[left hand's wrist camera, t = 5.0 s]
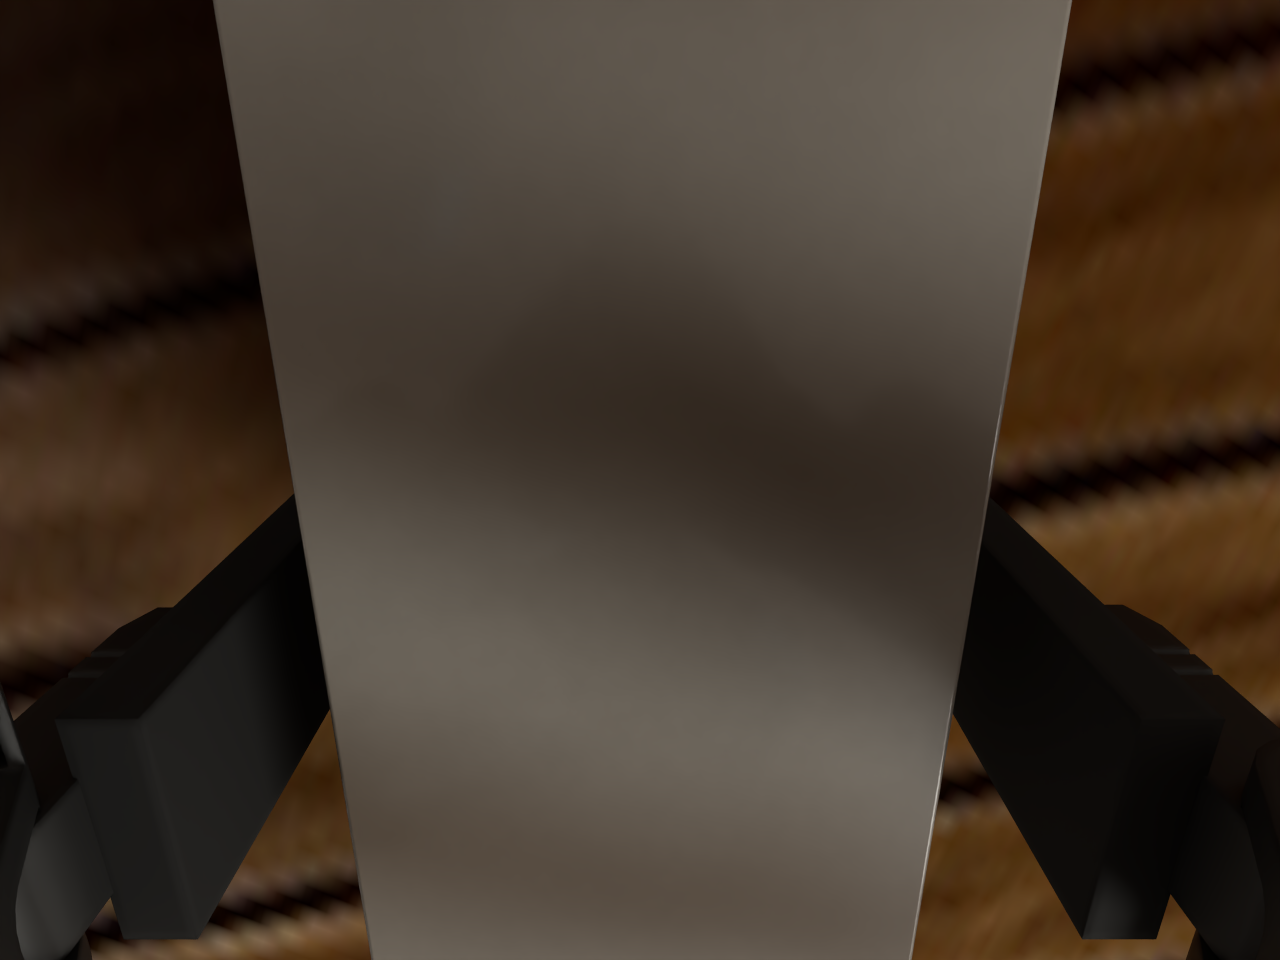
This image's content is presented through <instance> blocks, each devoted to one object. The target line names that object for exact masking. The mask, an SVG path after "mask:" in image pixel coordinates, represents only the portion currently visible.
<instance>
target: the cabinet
mask: <svg viewBox="0 0 1280 960" xmlns="http://www.w3.org/2000/svg"><path fill="white" fill-rule="evenodd" d="M1071 2H1072V0H213V4H214V10H215V16H216V22H217V28H218V34H219V40H220V46H221V52H222V58H223V65H224V71H225V77H226V83H227V89H228V95H229V101H230V107H231V113H232V119H233V125H234V131H235V137H236V143H237V149H238V155H239V161H240V167H241V173H242V179H243V185H244V191H245V198H246V204H247V210H248V216H249V222H250V228H251V234H252V240H253V246H254V252H255V258H256V264H257V270H258V276H259V282H260V288H261V294H262V300H263V306H264V312H265V318H266V324H267V331H268V337H269V343H270V349H271V355H272V361H273V367H274V373H275V379H276V385H277V391H278V397H279V403H280V409H281V415H282V421H283V427H284V433H285V439H286V445H287V451H288V457H289V463H290V470H291V476H292V482H293V488H294V494H295V500H296V506H297V512H298V518H299V524H300V530H301V536H302V542H303V548H304V554H305V560H306V566H307V572H308V578H309V584H310V590H311V596H312V603H313V609H314V615H315V621H316V627H317V633H318V639H319V645H320V651H321V657H322V663H323V669H324V675H325V681H326V687H327V693H328V699H329V705H330V711H331V717H332V723H333V729H334V736H335V742H336V748H337V754H338V760H339V766H340V772H341V778H342V784H343V790H344V796H345V802H346V808H347V814H348V820H349V826H350V832H351V838H352V844H353V850H354V856H355V862H356V869H357V875H358V881H359V887H360V893H361V899H362V905H363V911H364V917H365V923H366V929H367V935H368V941H369V947H370V953H371V959H372V960H911V959H912V953H913V947H914V941H915V935H916V929H917V923H918V917H919V911H920V905H921V899H922V893H923V887H924V881H925V875H926V869H927V863H928V857H929V851H930V846H931V840H932V834H933V828H934V822H935V816H936V810H937V804H938V798H939V792H940V786H941V780H942V774H943V768H944V762H945V756H946V750H947V744H948V738H949V732H950V726H951V720H952V714H953V708H954V702H955V696H956V690H957V684H958V678H959V672H960V666H961V660H962V654H963V648H964V642H965V636H966V630H967V624H968V618H969V612H970V606H971V600H972V594H973V588H974V582H975V576H976V570H977V564H978V558H979V553H980V547H981V541H982V535H983V529H984V523H985V517H986V511H987V505H988V499H989V493H990V487H991V481H992V475H993V469H994V463H995V457H996V451H997V445H998V439H999V433H1000V427H1001V421H1002V415H1003V409H1004V403H1005V397H1006V391H1007V385H1008V379H1009V373H1010V367H1011V361H1012V355H1013V349H1014V343H1015V337H1016V331H1017V325H1018V319H1019V313H1020V307H1021V301H1022V295H1023V289H1024V283H1025V277H1026V271H1027V265H1028V260H1029V254H1030V248H1031V242H1032V236H1033V230H1034V224H1035V218H1036V212H1037V206H1038V200H1039V194H1040V188H1041V182H1042V176H1043V170H1044V164H1045V158H1046V152H1047V146H1048V140H1049V134H1050V128H1051V122H1052V116H1053V110H1054V104H1055V98H1056V92H1057V86H1058V80H1059V74H1060V68H1061V62H1062V56H1063V50H1064V44H1065V38H1066V32H1067V26H1068V20H1069V14H1070V8H1071Z"/></svg>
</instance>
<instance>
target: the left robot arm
mask: <svg viewBox="0 0 1280 960" xmlns="http://www.w3.org/2000/svg"><path fill="white" fill-rule="evenodd" d="M91 653H92V655H91V657H86V658H85V659H84V660H82V661H81V662H80V663H79V664H78V665H77V666H76V667H74V668H73V669H72V670H71V671H70V672H69V676H68V678H62V679H61V680H60V681H59V682H57V683H56V684H55V685H54V686H53V687H52V688H51V689H50V690H48V691H47V692H46V693H45V694H44V695H43V696H42V697H41V698H39V699H38V700H37V701H36V702H35V703H34V704H33V705H31V706H30V707H29V708H28V709H27V710H26V711H25V712H24V713H22V714H21V715H20V716H19V717H18V718H17V719H16V720H14V721H13V718H12V715H11V712H10V709H9V706H8V703H7V701H6V698H5V695H4V692H3V689H2V686H1V683H0V960H92V956H91V950H90V946H89V943H88V940H87V937H86V934H85V931H86V930H87V928H88V927H89V926H90V924H91V923H92V922H93V920H94V919H95V917H96V916H97V915H98V913H99V912H100V911H101V909H102V908H103V906H104V905H105V904H106V902H107V901H108V900H109V898H110V897H111V900H112V903H113V906H114V910H115V913H116V916H117V919H118V922H119V925H120V929H121V932H122V935H123V938H124V939H198V938H199V936H200V934H201V933H202V931H203V929H204V927H205V926H206V924H207V922H208V920H209V919H210V917H211V915H212V913H213V912H214V910H215V908H216V906H217V905H218V903H219V901H220V899H221V898H222V896H223V894H224V893H225V891H226V889H227V887H228V886H229V884H230V882H231V880H232V879H233V877H234V875H235V873H236V872H237V870H238V868H239V866H240V865H241V863H242V861H243V859H244V858H245V856H246V854H247V852H248V851H249V849H250V847H251V845H252V844H253V842H254V840H255V838H256V837H257V835H258V833H259V831H260V830H261V828H262V826H263V824H264V823H265V821H266V819H267V818H268V816H269V814H270V812H271V811H272V809H273V807H274V805H275V804H276V802H277V800H278V798H279V797H280V795H281V793H282V791H283V790H284V788H285V786H286V784H287V783H288V781H289V779H290V777H291V776H292V774H293V772H294V770H295V769H296V767H297V765H298V763H299V762H300V760H301V758H302V756H303V755H304V753H305V751H306V749H307V748H308V746H309V744H310V743H311V741H312V739H313V737H314V736H315V734H316V732H317V730H318V729H319V727H320V725H321V723H322V722H323V720H324V718H325V716H326V715H327V713H328V711H329V709H330V705H329V699H328V693H327V687H326V681H325V675H324V669H323V663H322V657H321V651H320V645H319V639H318V633H317V627H316V621H315V615H314V609H313V603H312V596H311V590H310V584H309V578H308V572H307V566H306V560H305V554H304V548H303V542H302V536H301V530H300V524H299V518H298V512H297V506H296V500H295V494H293V495H292V496H291V497H290V498H289V499H288V500H287V501H286V502H285V503H283V504H282V505H281V506H280V507H279V508H278V509H277V510H276V511H275V512H274V513H273V514H272V515H271V516H270V517H269V518H268V519H267V520H265V521H264V522H263V523H262V524H261V525H260V526H259V527H258V528H257V529H256V530H255V531H254V532H253V533H252V534H251V535H250V536H248V537H247V538H246V539H245V540H244V541H243V542H242V543H241V544H240V545H239V546H238V547H237V548H236V549H235V550H234V551H233V552H231V553H230V554H229V555H228V556H227V557H226V558H225V559H224V560H223V561H222V562H221V563H220V564H219V565H218V566H217V567H216V568H214V569H213V570H212V571H211V572H210V573H209V574H208V575H207V576H206V577H205V578H204V579H203V580H202V581H201V582H200V583H199V584H197V585H196V586H195V587H194V588H193V589H192V590H191V591H190V592H189V593H188V594H187V595H186V596H185V597H184V598H183V599H182V600H180V601H179V602H178V603H177V604H176V605H175V606H174V607H173V608H156V609H154V610H152V611H150V612H149V613H147V614H145V615H143V616H141V617H139V618H137V619H135V620H133V621H132V622H130V623H128V624H126V625H124V626H122V627H120V628H119V629H117V630H116V631H115V632H114V633H113V634H112V635H111V636H110V637H108V638H107V639H106V640H105V641H104V642H103V643H102V644H100V645H99V646H98V647H97V648H96V649H95V650H94V651H93V652H91ZM953 715H954V716H955V718H956V720H957V722H958V723H959V725H960V727H961V729H962V730H963V732H964V734H965V736H966V737H967V739H968V741H969V743H970V744H971V746H972V748H973V750H974V751H975V753H976V755H977V756H978V758H979V760H980V762H981V763H982V765H983V767H984V769H985V770H986V772H987V774H988V776H989V777H990V779H991V781H992V783H993V784H994V786H995V788H996V790H997V791H998V793H999V795H1000V797H1001V798H1002V800H1003V802H1004V804H1005V805H1006V807H1007V809H1008V811H1009V812H1010V814H1011V816H1012V818H1013V819H1014V821H1015V823H1016V825H1017V826H1018V828H1019V830H1020V832H1021V833H1022V835H1023V837H1024V838H1025V840H1026V842H1027V844H1028V845H1029V847H1030V849H1031V851H1032V852H1033V854H1034V856H1035V858H1036V859H1037V861H1038V863H1039V865H1040V866H1041V868H1042V870H1043V872H1044V873H1045V875H1046V877H1047V879H1048V880H1049V882H1050V884H1051V886H1052V887H1053V889H1054V891H1055V893H1056V894H1057V896H1058V898H1059V900H1060V901H1061V903H1062V905H1063V907H1064V908H1065V910H1066V912H1067V913H1068V915H1069V917H1070V919H1071V920H1072V922H1073V924H1074V926H1075V927H1076V929H1077V931H1078V933H1079V934H1080V936H1081V938H1082V939H1156V938H1157V935H1158V932H1159V929H1160V925H1161V922H1162V919H1163V916H1164V913H1165V910H1166V906H1167V903H1168V900H1169V897H1170V894H1171V895H1172V897H1173V898H1174V899H1175V901H1176V902H1177V903H1178V905H1179V906H1180V907H1181V909H1182V910H1183V912H1184V913H1185V914H1186V916H1187V917H1188V918H1189V920H1190V921H1191V923H1192V924H1193V925H1194V927H1195V928H1196V931H1195V934H1194V937H1193V940H1192V943H1191V946H1190V949H1189V952H1188V955H1187V958H1186V960H1280V729H1279V728H1278V727H1277V726H1276V725H1275V724H1274V723H1273V722H1271V721H1270V720H1269V719H1268V718H1267V717H1266V716H1265V715H1263V714H1262V713H1261V712H1260V711H1259V710H1258V709H1257V708H1255V707H1254V706H1253V705H1252V704H1251V703H1250V702H1249V701H1247V700H1246V699H1245V698H1244V697H1243V696H1242V695H1241V694H1239V693H1238V692H1237V691H1236V690H1235V689H1234V688H1233V687H1232V686H1230V685H1229V684H1228V683H1227V682H1226V681H1225V680H1224V679H1222V678H1221V677H1220V676H1219V675H1213V673H1212V669H1211V668H1210V667H1209V666H1208V665H1206V664H1205V663H1204V662H1203V661H1202V660H1201V659H1200V658H1198V657H1197V656H1196V655H1195V654H1190V653H1189V649H1188V648H1187V647H1186V646H1185V645H1184V644H1182V643H1181V642H1180V641H1179V640H1178V639H1177V638H1176V637H1174V636H1173V635H1172V634H1171V633H1170V632H1169V631H1168V630H1167V629H1165V628H1164V627H1163V626H1162V625H1160V624H1158V623H1156V622H1154V621H1153V620H1151V619H1149V618H1147V617H1145V616H1143V615H1141V614H1139V613H1137V612H1135V611H1134V610H1132V609H1130V608H1128V607H1126V606H1124V605H1104V604H1103V603H1102V602H1101V601H1099V600H1098V599H1097V598H1096V597H1095V596H1094V595H1093V594H1092V593H1091V592H1090V591H1089V590H1088V589H1087V588H1086V587H1085V586H1084V585H1083V584H1081V583H1080V582H1079V581H1078V580H1077V579H1076V578H1075V577H1074V576H1073V575H1072V574H1071V573H1070V572H1069V571H1068V570H1067V569H1066V568H1064V567H1063V566H1062V565H1061V564H1060V563H1059V562H1058V561H1057V560H1056V559H1055V558H1054V557H1053V556H1052V555H1051V554H1050V553H1049V552H1047V551H1046V550H1045V549H1044V548H1043V547H1042V546H1041V545H1040V544H1039V543H1038V542H1037V541H1036V540H1035V539H1034V538H1033V537H1032V536H1030V535H1029V534H1028V533H1027V532H1026V531H1025V530H1024V529H1023V528H1022V527H1021V526H1020V525H1019V524H1018V523H1017V522H1016V521H1015V520H1013V519H1012V518H1011V517H1010V516H1009V515H1008V514H1007V513H1006V512H1005V511H1004V510H1003V509H1002V508H1001V507H1000V506H999V505H998V504H996V503H995V502H994V501H993V500H992V499H991V498H990V497H989V499H988V505H987V511H986V517H985V523H984V529H983V535H982V541H981V547H980V553H979V558H978V564H977V570H976V576H975V582H974V588H973V594H972V600H971V606H970V612H969V618H968V624H967V630H966V636H965V642H964V648H963V654H962V660H961V666H960V672H959V678H958V684H957V690H956V696H955V702H954V708H953Z"/></svg>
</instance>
